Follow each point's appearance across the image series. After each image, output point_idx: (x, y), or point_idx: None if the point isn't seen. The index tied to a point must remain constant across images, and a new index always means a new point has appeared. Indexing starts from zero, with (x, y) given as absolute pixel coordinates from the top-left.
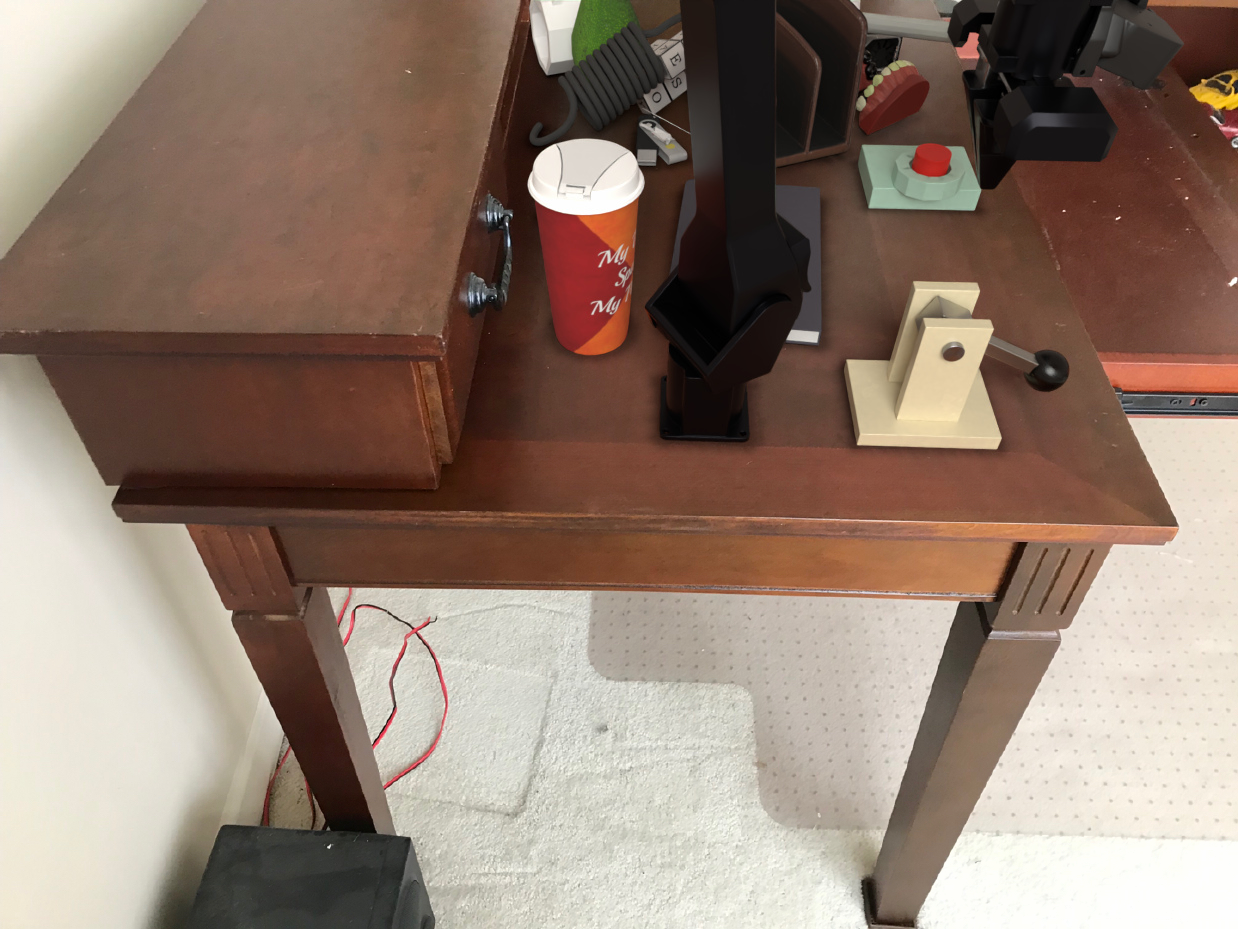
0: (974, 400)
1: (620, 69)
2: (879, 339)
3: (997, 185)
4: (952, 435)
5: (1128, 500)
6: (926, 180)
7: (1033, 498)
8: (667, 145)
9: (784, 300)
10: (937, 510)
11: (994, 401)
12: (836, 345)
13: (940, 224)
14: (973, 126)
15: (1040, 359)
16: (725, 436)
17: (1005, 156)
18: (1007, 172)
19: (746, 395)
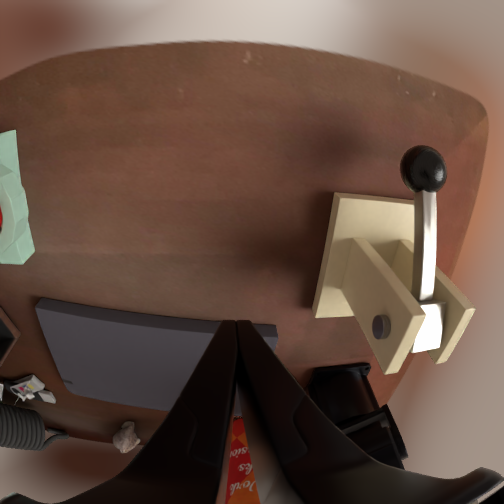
0: (390, 217)
1: (18, 440)
2: (268, 274)
3: (253, 325)
4: None
5: (476, 119)
6: (10, 223)
7: (464, 190)
8: (30, 387)
9: (407, 454)
10: (453, 260)
11: (373, 182)
12: (275, 311)
13: (43, 173)
14: (226, 488)
15: (435, 190)
16: (366, 375)
17: (495, 491)
18: (273, 351)
19: (333, 370)
